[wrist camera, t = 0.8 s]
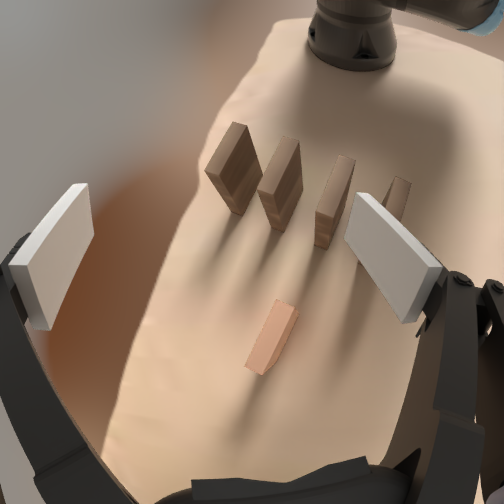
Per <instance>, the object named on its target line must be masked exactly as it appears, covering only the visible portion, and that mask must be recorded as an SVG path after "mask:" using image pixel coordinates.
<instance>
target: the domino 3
mask: <svg viewBox="0 0 504 504" xmlns="http://www.w3.org/2000/svg"><path fill="white" fill-rule="evenodd" d="M298 315H299V313H298V312H297V310H296V309H295V307H293V306H291V305H288V304H286V303H284V302H282V301H279V300H277V299H276V301H275V303H274V305H273V307H272V309H271V311H270V314H269V316H268V318H267V320H266V322H265V324H264V326H263V328H262V330H261V333H260V335H259V337H258V339H257V341H256V343H255V345H254V347H253V349H252V351H251V353H250V355H249V357H248V359H247V362H246V364H245V366H244V367H246V368H248V369H250V370H252V371H254V372H256V373H258V374H260V375H263V374H264V373H265V372H266V371H267V370H268V369H269V368H270V367H272V366H273V365H274V364H275V363H276V361H277V359H278V357H279V355H280V353H281V351H282V349H283V347H284V345H285V343H286V341H287V339H288V337H289V334H290V332H291V330H292V328H293V326H294V324H295V322H296V319H297V317H298Z"/></svg>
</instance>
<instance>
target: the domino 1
mask: <svg viewBox="0 0 504 504" xmlns="http://www.w3.org/2000/svg"><path fill="white" fill-rule="evenodd" d="M204 171H205V172H206V174H207V175H208V177H209V179H210V180H211V182H212V183H213V185H214V186H215V188H216V189H217V191H218V192H219V194H220V195H221V197H222V198H223V200H224V201H225V203H226V204H227V206H228V207H229V209H230V211H231V212H233V213H236V214H238V215H241V216H243V215H244V213H245V211H246V209H247V207H248V205H249V203H250V201H251V199H252V197H253V195H254V193H255V191H256V189H257V187H258V185H259V183H260V181H261V179H262V177H263V174H262V170H261V167H260V164H259V161H258V158H257V155H256V152H255V149H254V146H253V142H252V139H251V136H250V133H249V130H248V127H247V125H243V124H240V123H236V122H232V124H231V125H230V127H229V129H228V130H227V132H226V134H225V135H224V137H223V139H222V141H221V142H220V144H219V146H218V147H217V149H216V151H215V153H214V154H213V156H212V158H211V160H210V161H209V163H208V165H207V167H206V168H205V170H204Z"/></svg>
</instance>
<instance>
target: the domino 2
mask: <svg viewBox="0 0 504 504" xmlns="http://www.w3.org/2000/svg"><path fill="white" fill-rule="evenodd" d="M257 191H258V194H259V197H260V199H261V202H262V204H263V207H264V209H265V212H266V215H267V217H268V220H269V222H270V225H271V228H273V229H276V230H278V231H281V232H283V233H284V231H285V229H286V227H287V225H288V222H289V220H290V218H291V216H292V214H293V211H294V209H295V207H296V205H297V203H298V200H299V198H300V196H301V194H302V191H303V181H302V168H301V156H300V145H299V141H298V140H294V139H291V138H288V137H285V136H283V138H282V140H281V142H280V144H279V145H278V147H277V149H276V151H275V153H274V155H273V157H272V159H271V161H270V163H269V165H268V167H267V169H266V171H265V173H264V175H263V177H262V179H261V181H260V183H259V185H258V187H257Z"/></svg>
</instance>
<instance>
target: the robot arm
mask: <svg viewBox="0 0 504 504" xmlns="http://www.w3.org/2000/svg"><path fill="white" fill-rule="evenodd" d="M392 8H393V9H397V10H401V11H404V12H408V13H411V14H415V15H418V16H421V17H424V18H427V19H430V20H433V21H436V22H439V23H441V24H444V25H447V26H449V27H452V28H455V29H457V30H459V31H462V32H467V33H470V34H473V35H476V36H485V35H488V34H490V33H492V32H493V31H494V30H495V29H496V28H497V27H498V26H499V24H500V23H501V21H502V19H503V12H504V0H317V8H316V10H315V13H314V15H313V18H312V21H311V23H310V26H309V29H308V40H309V46H310V48H311V50H312V51H313V53H314V54H315V55H316V56H318V57H319V58H320V59H322V60H323V61H325V62H327V63H329V64H331V65H333V66H336V67H339V68H343V69H347V70H354V71H371V70H377V69H380V68H383V67H385V66H387V65H388V64H390V63H391V62H392V60H393V59H394V57H395V53H396V47H397V41H396V36H395V32H394V28H393V24H392V20H391V11H392ZM93 236H94V231H93V224H92V216H91V208H90V201H89V192H88V184H87V183H84V184H73V185H72V186H71V187H70V188H69V189H68V191H67V192H66V193H65V194H64V195H63V196H62V197H61V198H60V199H59V201H58V202H57V203H56V204H55V205H54V206H53V208H52V209H51V210H50V211H49V212H48V214H47V215H46V216H45V217H44V218H43V220H42V221H41V222H40V223H39V225H38V226H37V227H36V228H35V230H34V231H33V232H32V233H28V234H26V235H25V236H23V237H22V238H20V239H19V240H18V242H17V243H16V244H15V246H14V248H12V250H11V251H10V252H9V254H8V255H7V256H6V258H5V259H4V260H3V262H2V263H1V264H0V396H1V399H2V402H3V404H4V407H5V409H6V412H7V414H8V417H9V419H10V421H11V424H12V426H13V428H14V431H15V433H16V435H17V437H18V439H19V441H20V443H21V446H22V447H23V450H24V452H25V454H26V456H27V457H28V459H29V461H30V463H31V465H32V467H33V469H34V471H35V476H34V478H33V479H34V483H35V485H36V487H37V489H38V491H39V493H40V494H41V496H42V498H43V500H44V501H45V503H46V504H139V503H138V502H137V501H136V500H135V499H134V497H133V496H132V495H131V494H130V493H129V492H128V491H127V490H126V489H125V487H124V486H123V485H122V484H121V483H120V482H119V481H118V479H117V478H116V477H115V476H114V474H113V473H112V472H111V471H110V469H109V468H108V467H107V466H106V464H105V463H104V462H103V460H102V459H101V458H100V456H99V455H98V454H97V452H96V451H95V450H94V448H93V447H92V445H91V444H90V443H89V441H88V440H87V438H86V437H85V435H84V434H83V432H82V431H81V429H80V428H79V426H78V425H77V423H76V422H75V420H74V419H73V417H72V415H71V414H70V412H69V411H68V409H67V407H66V406H65V404H64V402H63V401H62V399H61V397H60V396H59V394H58V392H57V390H56V389H55V387H54V385H53V383H52V381H51V379H50V378H49V376H48V374H47V372H46V370H45V368H44V366H43V364H42V362H41V360H40V358H39V356H38V354H37V352H36V350H35V348H34V346H33V344H32V341H31V339H30V337H29V335H28V333H27V331H26V328H25V326H24V324H25V322H26V320H27V318H29V321H30V323H31V325H32V327H33V329H40V330H49V331H50V330H51V328H52V326H53V323H54V320H55V318H56V316H57V313H58V311H59V308H60V306H61V304H62V301H63V299H64V297H65V294H66V292H67V290H68V287H69V285H70V283H71V281H72V279H73V277H74V274H75V272H76V270H77V268H78V266H79V264H80V262H81V260H82V258H83V255H84V254H85V252H86V250H87V248H88V246H89V243H90V242H91V240H92V238H93ZM344 239H345V241H346V242H347V244H348V245H349V246H350V248H351V249H352V251H353V252H354V253H355V255H356V256H357V258H358V259H359V260H360V262H361V263H362V265H363V266H364V268H365V269H366V271H367V272H368V273H369V275H370V276H371V278H372V279H373V281H374V282H375V284H376V285H377V287H378V288H379V290H380V291H381V293H382V294H383V296H384V297H385V299H386V300H387V302H388V303H389V305H390V306H391V308H392V309H393V311H394V312H395V314H396V315H397V317H398V319H399V320H400V322H401V323H402V324H404V323H412V322H416V321H417V319H418V317H419V315H420V313H421V312H422V311H423V312H424V313H425V315H426V318H425V320H424V322H423V324H422V325H421V327H420V329H419V331H418V333H417V334H416V336H415V337H418V336H419V335H420V339H419V344H418V348H417V353H416V357H415V362H414V366H413V370H412V374H411V378H410V381H409V385H408V389H407V392H406V396H405V399H404V403H403V406H402V409H401V413H400V416H399V419H398V422H397V425H396V428H395V431H394V434H393V437H392V440H391V443H390V445H389V448H388V451H387V453H386V455H385V457H384V459H383V460H382V462H381V463H380V464H379V465H368V462H367V459H366V456H363V457H359V458H355V459H351V460H347V461H343V462H338V463H334V464H329V465H326V466H324V467H322V468H320V469H318V470H316V471H314V472H311V473H309V474H307V475H305V476H302V477H300V478H298V479H295V480H293V481H291V482H287V483H278V482H268V481H258V480H250V479H243V478H226V479H200V480H191V483H192V488H189V489H185V490H181V491H178V492H176V493H173V494H171V495H169V496H166V497H164V498H162V499H161V500H159V501H158V502H156V503H155V504H474V499H475V495H476V490H477V485H478V480H479V474H480V478H481V488H482V495H483V500H484V504H504V286H503V284H502V283H500V282H499V281H495V280H492V279H488V280H486V282H485V284H484V286H483V288H478V287H475V286H474V284H473V282H472V281H471V279H470V278H468V277H467V276H466V275H464V274H462V273H460V272H457V271H450V272H449V271H448V270H447V269H446V268H445V267H444V266H443V265H442V263H441V262H440V261H439V260H438V259H437V258H436V257H434V255H433V254H432V253H431V252H429V250H428V249H427V248H426V247H425V246H424V245H423V244H422V243H421V242H419V241H418V240H417V239H416V238H415V237H414V236H413V235H412V234H411V233H410V232H409V231H408V230H407V229H406V228H405V227H404V226H403V225H402V224H401V223H400V222H399V221H398V220H397V219H396V218H395V217H394V216H393V215H391V214H390V213H389V212H388V211H387V210H386V209H385V208H384V207H383V206H382V205H381V204H380V203H379V202H378V201H376V200H375V199H374V198H373V197H372V196H371V195H370V194H369V193H360V192H356V194H355V198H354V202H353V206H352V210H351V214H350V218H349V221H348V225H347V229H346V233H345V236H344ZM491 325H492V329H491V332H490V334H489V335H488V333H487V331H488V330H489V328H490V327H491ZM475 416H476V423H475V421H474V419H475ZM0 504H6V503H5V499H4V496H3V492H2V489H1V485H0Z"/></svg>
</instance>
